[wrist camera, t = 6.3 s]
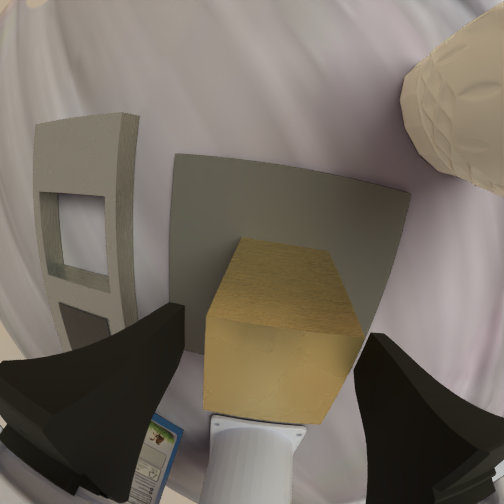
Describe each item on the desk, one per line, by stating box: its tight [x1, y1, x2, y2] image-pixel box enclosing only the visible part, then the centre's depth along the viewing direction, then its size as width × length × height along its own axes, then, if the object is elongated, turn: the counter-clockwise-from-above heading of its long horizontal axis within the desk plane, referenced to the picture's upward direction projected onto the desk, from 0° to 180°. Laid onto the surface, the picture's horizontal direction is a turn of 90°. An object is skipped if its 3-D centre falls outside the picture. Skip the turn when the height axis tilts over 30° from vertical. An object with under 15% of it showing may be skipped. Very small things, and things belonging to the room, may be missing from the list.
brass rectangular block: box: [203, 237, 365, 424], centre depth 11 cm, size 4×4×7 cm
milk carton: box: [99, 413, 184, 504], centre depth 13 cm, size 10×6×20 cm, turn 139°
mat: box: [169, 154, 411, 374], centre depth 14 cm, size 12×12×1 cm
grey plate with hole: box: [33, 112, 139, 353], centre depth 15 cm, size 18×7×2 cm, turn 173°
